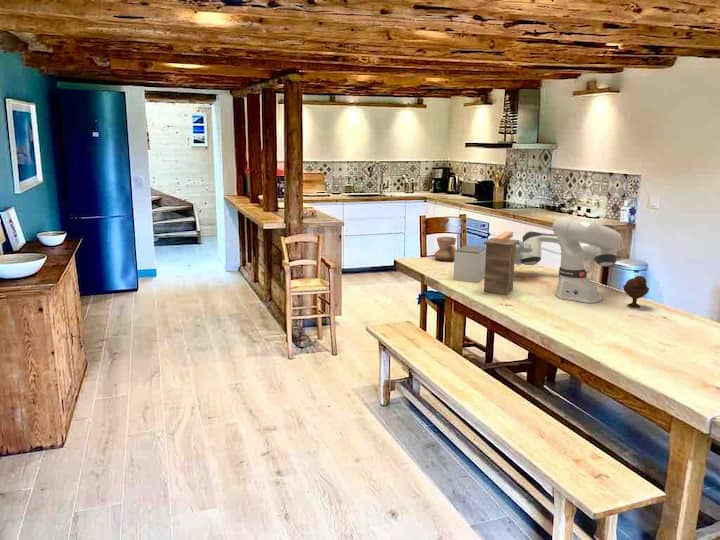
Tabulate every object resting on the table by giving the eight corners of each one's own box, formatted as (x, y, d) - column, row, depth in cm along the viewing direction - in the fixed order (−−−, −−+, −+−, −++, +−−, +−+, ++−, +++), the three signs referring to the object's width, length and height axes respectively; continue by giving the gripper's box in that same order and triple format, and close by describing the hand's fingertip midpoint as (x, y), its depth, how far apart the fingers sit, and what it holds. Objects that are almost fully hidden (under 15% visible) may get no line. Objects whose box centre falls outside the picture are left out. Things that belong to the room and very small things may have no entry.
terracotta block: (505, 236, 317) (505, 231, 316) (512, 236, 315) (512, 232, 314) (493, 243, 297) (494, 238, 296) (501, 243, 295) (502, 238, 294)
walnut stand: (488, 286, 317) (491, 237, 311) (515, 289, 311) (518, 240, 305) (481, 292, 305) (484, 242, 299) (508, 295, 299) (512, 244, 293)
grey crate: (463, 273, 346) (464, 245, 343) (487, 275, 340) (488, 247, 336) (453, 279, 331) (454, 250, 327) (478, 282, 324) (479, 252, 321)
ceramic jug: (429, 258, 387) (430, 236, 383) (448, 256, 392) (449, 234, 388) (443, 264, 371) (444, 241, 367) (463, 262, 376) (464, 240, 372)
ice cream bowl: (641, 303, 287) (645, 273, 284) (650, 310, 276) (653, 278, 273) (618, 302, 288) (621, 272, 285) (626, 309, 277) (629, 277, 274)
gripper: (532, 257, 328) (528, 248, 316) (495, 253, 337) (490, 244, 325) (533, 246, 330) (530, 237, 318) (497, 243, 338) (492, 234, 326)
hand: (509, 241), depth 321 cm, fingers open, 8 cm apart
